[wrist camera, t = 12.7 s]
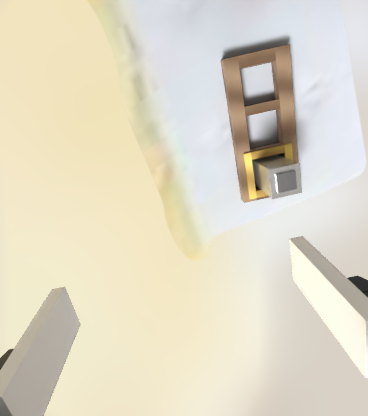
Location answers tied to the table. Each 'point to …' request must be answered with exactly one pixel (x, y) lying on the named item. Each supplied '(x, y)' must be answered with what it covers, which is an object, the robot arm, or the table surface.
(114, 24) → the table surface
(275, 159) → the block
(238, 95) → the board
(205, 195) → the table surface
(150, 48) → the table surface
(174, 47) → the table surface
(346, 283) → the robot arm
